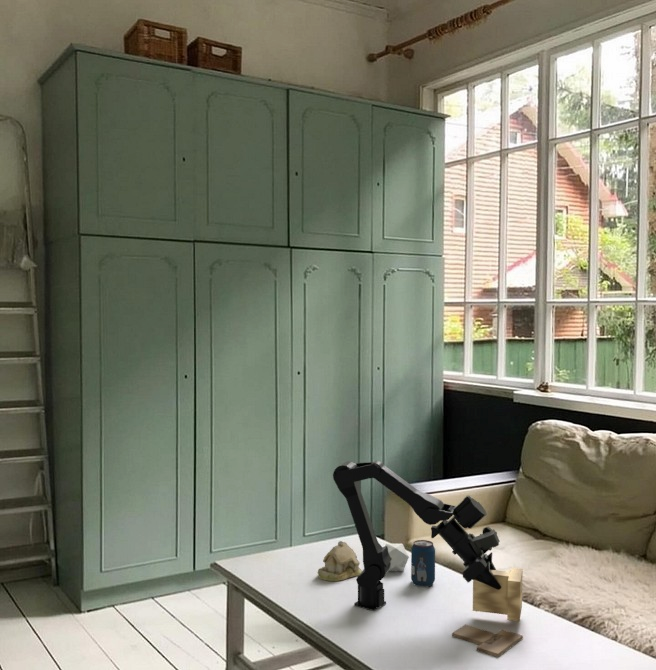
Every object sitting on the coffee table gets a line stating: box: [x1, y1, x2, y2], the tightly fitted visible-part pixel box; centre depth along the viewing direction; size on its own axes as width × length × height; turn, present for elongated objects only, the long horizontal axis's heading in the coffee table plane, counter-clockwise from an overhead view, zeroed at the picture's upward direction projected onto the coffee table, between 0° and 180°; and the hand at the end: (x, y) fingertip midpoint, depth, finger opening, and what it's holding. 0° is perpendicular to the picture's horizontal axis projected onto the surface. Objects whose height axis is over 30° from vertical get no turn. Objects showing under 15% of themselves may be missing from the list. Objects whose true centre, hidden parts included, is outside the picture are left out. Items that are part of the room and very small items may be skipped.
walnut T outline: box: [451, 624, 524, 658], centre depth 187 cm, size 14×13×1 cm
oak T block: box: [472, 567, 524, 622], centre depth 199 cm, size 12×10×10 cm
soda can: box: [410, 539, 436, 588], centre depth 225 cm, size 7×7×12 cm
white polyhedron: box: [385, 543, 410, 572], centre depth 237 cm, size 8×9×10 cm
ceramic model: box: [317, 540, 363, 582], centre depth 233 cm, size 14×11×10 cm
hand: (500, 586), depth 198 cm, fingers closed on oak T block, 4 cm apart
